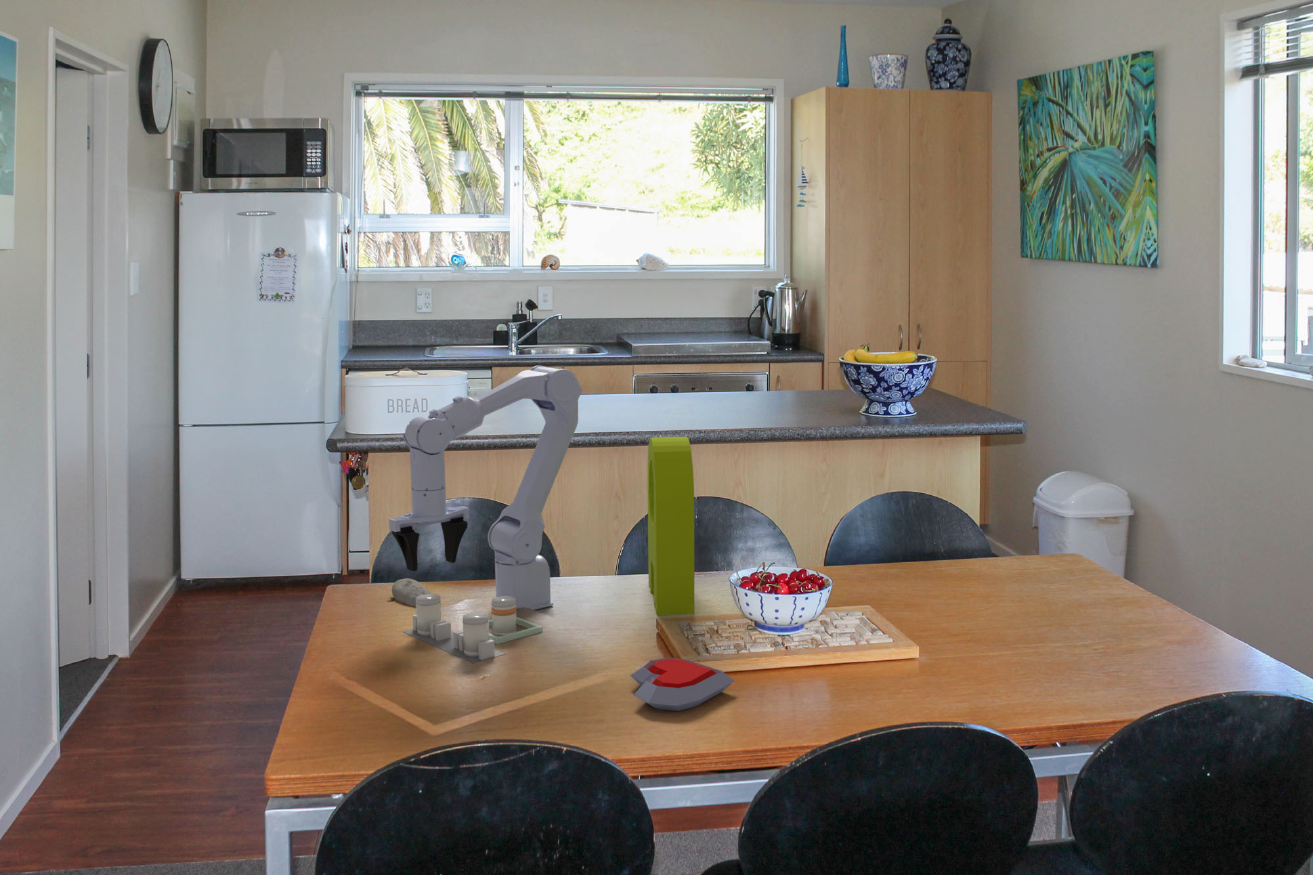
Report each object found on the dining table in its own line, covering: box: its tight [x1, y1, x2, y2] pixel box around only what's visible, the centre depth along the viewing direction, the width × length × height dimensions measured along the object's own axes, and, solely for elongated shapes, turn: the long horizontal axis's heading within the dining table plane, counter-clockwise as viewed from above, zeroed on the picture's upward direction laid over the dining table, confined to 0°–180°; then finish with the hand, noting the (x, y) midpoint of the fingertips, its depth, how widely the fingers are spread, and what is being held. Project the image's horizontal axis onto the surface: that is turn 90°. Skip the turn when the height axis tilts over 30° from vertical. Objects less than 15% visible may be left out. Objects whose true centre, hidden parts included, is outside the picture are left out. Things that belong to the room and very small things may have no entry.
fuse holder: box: [402, 614, 506, 664], centre depth 189 cm, size 6×21×4 cm, turn 42°
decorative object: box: [647, 436, 696, 616], centre depth 214 cm, size 20×7×30 cm, turn 5°
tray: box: [489, 616, 543, 645], centre depth 195 cm, size 9×9×2 cm
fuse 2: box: [462, 612, 490, 657], centre depth 184 cm, size 4×4×6 cm
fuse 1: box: [415, 593, 442, 636], centre depth 194 cm, size 4×4×6 cm
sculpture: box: [630, 656, 735, 712], centre depth 169 cm, size 17×4×15 cm
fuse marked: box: [491, 596, 518, 636], centre depth 195 cm, size 4×4×6 cm
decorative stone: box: [391, 578, 431, 608], centre depth 215 cm, size 6×16×3 cm, turn 31°
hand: (431, 565), depth 201 cm, fingers open, 7 cm apart
